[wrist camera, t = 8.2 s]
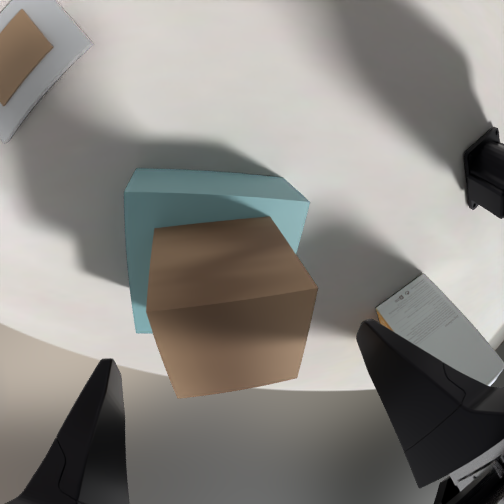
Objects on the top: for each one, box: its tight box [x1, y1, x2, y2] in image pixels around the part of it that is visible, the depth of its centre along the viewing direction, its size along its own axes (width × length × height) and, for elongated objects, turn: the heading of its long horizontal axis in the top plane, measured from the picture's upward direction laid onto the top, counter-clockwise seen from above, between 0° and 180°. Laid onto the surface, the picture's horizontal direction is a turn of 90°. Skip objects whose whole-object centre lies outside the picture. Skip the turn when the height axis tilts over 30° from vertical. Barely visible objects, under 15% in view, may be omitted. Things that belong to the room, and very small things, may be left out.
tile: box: [0, 0, 93, 144], centre depth 7 cm, size 7×7×1 cm
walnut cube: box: [146, 216, 318, 398], centre depth 11 cm, size 5×5×5 cm
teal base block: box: [124, 168, 310, 333], centre depth 15 cm, size 8×8×4 cm
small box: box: [376, 273, 504, 386], centre depth 21 cm, size 8×6×13 cm
